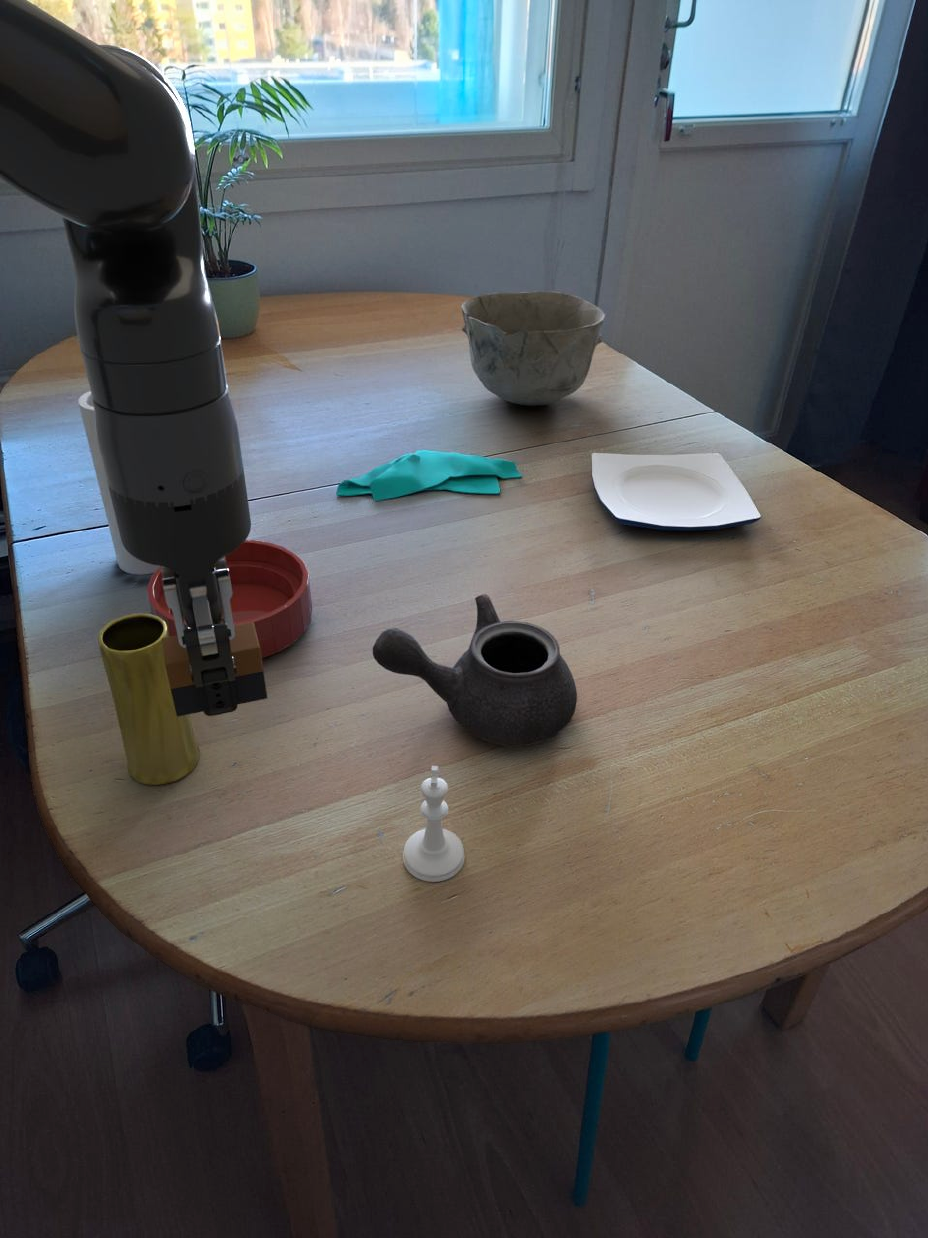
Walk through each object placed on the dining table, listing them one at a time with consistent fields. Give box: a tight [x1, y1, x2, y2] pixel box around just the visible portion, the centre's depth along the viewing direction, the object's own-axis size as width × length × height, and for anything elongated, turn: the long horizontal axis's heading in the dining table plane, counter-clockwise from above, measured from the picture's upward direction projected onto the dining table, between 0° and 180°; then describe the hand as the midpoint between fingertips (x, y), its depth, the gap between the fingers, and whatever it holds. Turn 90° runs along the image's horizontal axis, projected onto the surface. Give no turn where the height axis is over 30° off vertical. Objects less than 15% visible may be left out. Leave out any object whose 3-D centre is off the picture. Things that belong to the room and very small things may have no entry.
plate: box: [590, 452, 762, 531], centre depth 118 cm, size 20×20×3 cm
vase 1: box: [77, 390, 160, 576], centre depth 98 cm, size 11×7×20 cm, turn 112°
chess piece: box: [402, 765, 466, 883], centre depth 67 cm, size 5×5×10 cm
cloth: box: [335, 449, 523, 502], centre depth 122 cm, size 26×14×2 cm, turn 97°
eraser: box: [162, 622, 268, 716], centre depth 59 cm, size 6×3×4 cm, turn 109°
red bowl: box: [146, 539, 313, 659], centre depth 92 cm, size 16×16×6 cm
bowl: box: [460, 290, 606, 407], centre depth 141 cm, size 22×22×15 cm
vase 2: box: [97, 613, 201, 786], centre depth 73 cm, size 6×6×14 cm
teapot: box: [372, 593, 578, 747], centre depth 81 cm, size 19×15×10 cm
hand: (217, 693), depth 60 cm, fingers closed on eraser, 3 cm apart
